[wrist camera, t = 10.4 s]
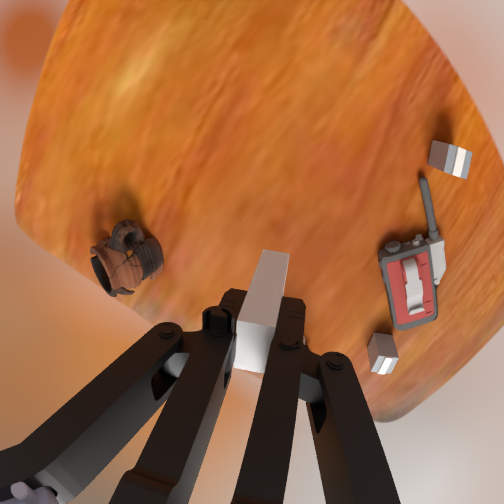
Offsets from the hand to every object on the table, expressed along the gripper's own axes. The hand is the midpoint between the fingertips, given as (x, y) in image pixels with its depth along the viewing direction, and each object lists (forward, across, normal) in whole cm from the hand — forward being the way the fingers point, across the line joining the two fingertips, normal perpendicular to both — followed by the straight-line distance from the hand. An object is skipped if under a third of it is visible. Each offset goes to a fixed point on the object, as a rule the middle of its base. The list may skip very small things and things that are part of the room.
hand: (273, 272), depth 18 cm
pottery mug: (+20, -21, -11) cm, 31 cm away
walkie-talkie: (+20, +16, -6) cm, 27 cm away
